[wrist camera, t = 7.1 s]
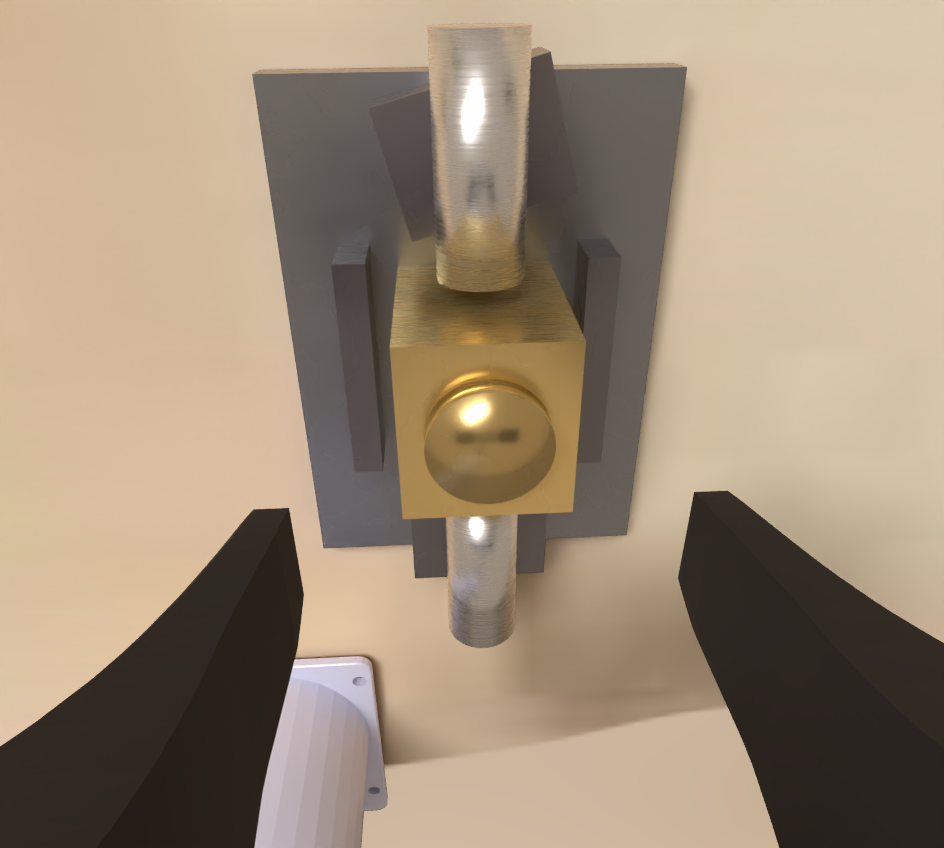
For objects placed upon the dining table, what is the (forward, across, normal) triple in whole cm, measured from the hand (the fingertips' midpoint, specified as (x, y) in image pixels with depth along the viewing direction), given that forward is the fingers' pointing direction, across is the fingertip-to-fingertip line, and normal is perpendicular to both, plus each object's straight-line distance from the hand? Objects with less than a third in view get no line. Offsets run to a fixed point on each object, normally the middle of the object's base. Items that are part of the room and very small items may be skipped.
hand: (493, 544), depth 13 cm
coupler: (+8, 0, 0) cm, 8 cm away
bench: (+9, 0, 0) cm, 9 cm away
